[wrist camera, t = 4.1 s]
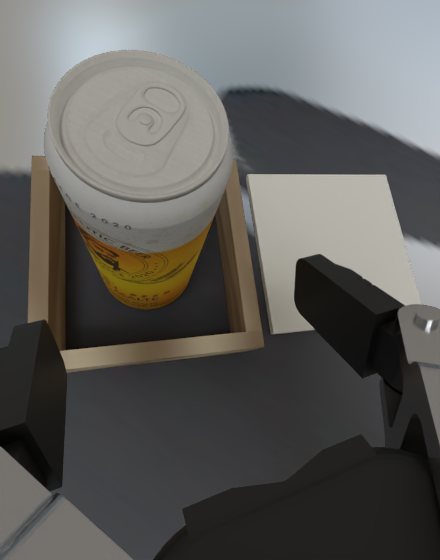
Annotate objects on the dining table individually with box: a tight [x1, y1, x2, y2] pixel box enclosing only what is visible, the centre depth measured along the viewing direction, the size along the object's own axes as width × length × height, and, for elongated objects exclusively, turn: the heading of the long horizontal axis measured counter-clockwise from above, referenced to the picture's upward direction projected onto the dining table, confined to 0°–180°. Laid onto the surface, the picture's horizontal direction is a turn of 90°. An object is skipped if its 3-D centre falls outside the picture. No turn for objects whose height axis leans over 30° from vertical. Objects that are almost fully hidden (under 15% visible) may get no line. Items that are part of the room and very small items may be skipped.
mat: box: [246, 174, 422, 335], centre depth 27 cm, size 13×13×1 cm
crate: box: [28, 156, 265, 373], centre depth 22 cm, size 13×13×4 cm
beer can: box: [44, 50, 233, 310], centre depth 17 cm, size 6×6×15 cm
